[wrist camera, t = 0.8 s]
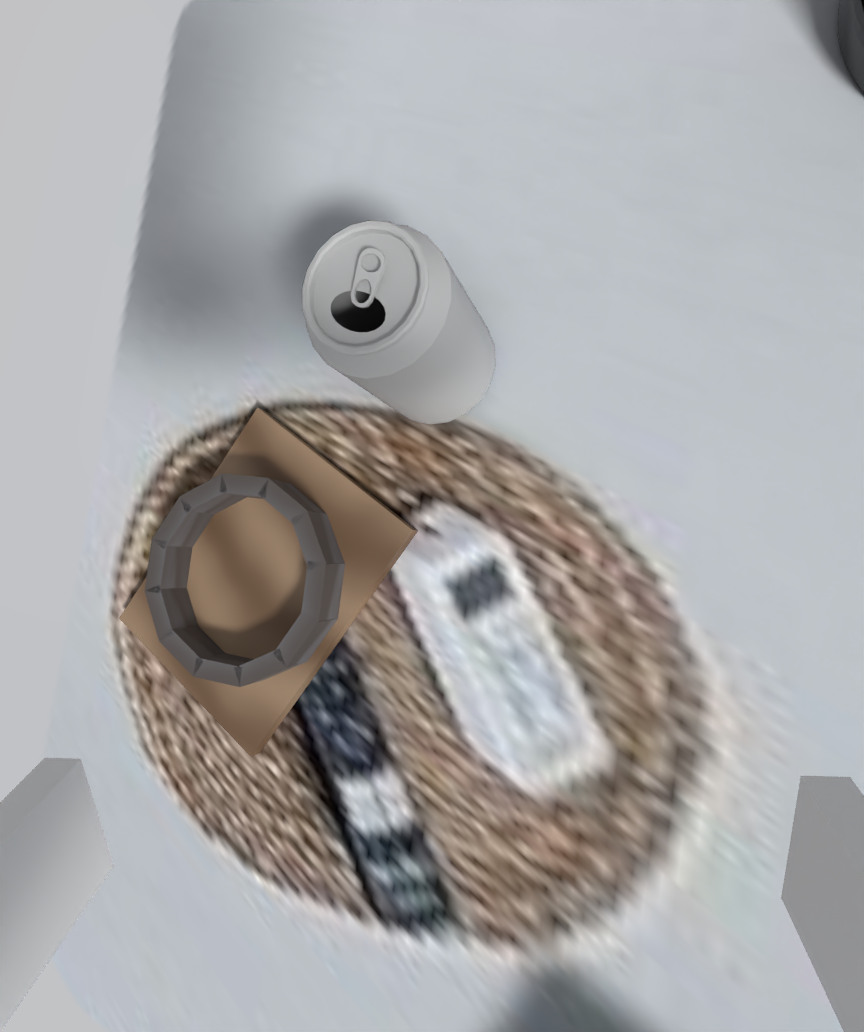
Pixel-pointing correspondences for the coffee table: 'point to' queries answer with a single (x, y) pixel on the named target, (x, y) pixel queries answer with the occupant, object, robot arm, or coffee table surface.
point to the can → (398, 321)
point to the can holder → (262, 577)
